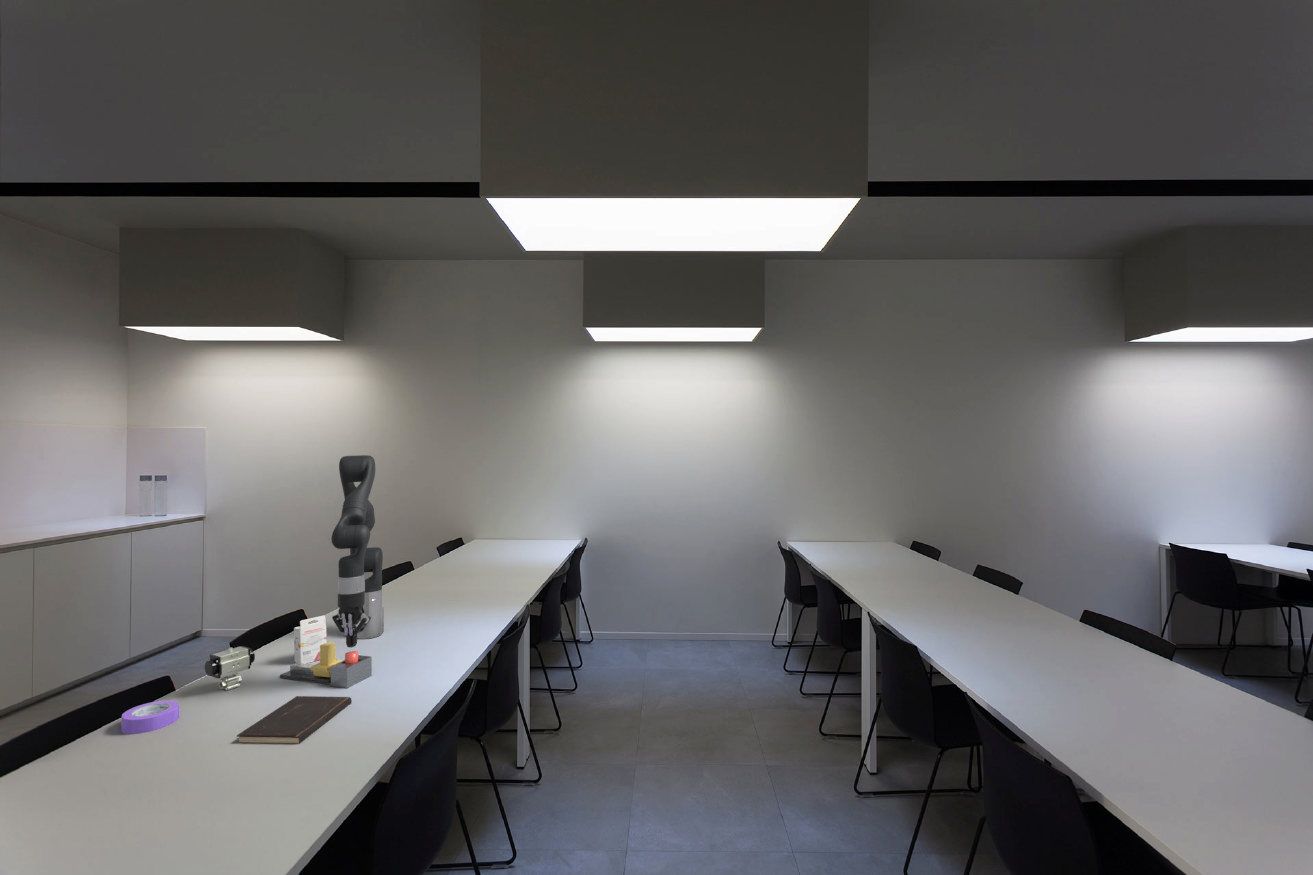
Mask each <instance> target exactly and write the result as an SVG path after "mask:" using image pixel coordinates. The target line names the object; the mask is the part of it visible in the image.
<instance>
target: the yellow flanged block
mask: <svg viewBox="0 0 1313 875" xmlns="http://www.w3.org/2000/svg"><path fill="white" fill-rule="evenodd" d="M336 658H337V656H336V642H329V641H328V642H327V643H325V644H322V645H320V660H319V662H318V663H316V664H312V665H313V666H311V671H314V676H322V677H331V666H332V665H335V664H337V663H339V662H341V661H343V660H344V659H336Z"/></svg>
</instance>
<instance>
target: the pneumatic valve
mask: <svg viewBox="0 0 1313 875" xmlns="http://www.w3.org/2000/svg"><path fill="white" fill-rule="evenodd" d="M255 660H256V655H255V651H254V650H253V648H250V647H247V646H242V645H241V646H237V647H234V648H233V647H228V648H227V649H226V650H223V651H220V652H216V653H212V654H209V658H208V660H206V661H205V663H204V671H205V673H206V675H207V676H209V677H212V678H215V679H220V681H219V683H218V687H219V689H221V690H225V691H230V690H234V689H237V688H239V687H240V686H241V683H242V682H243V680H242V679H243V678H242V676H241V675H240V674H239V673H241V672H244V671H248V670H250V669H251V666H252V663H254V662H255Z"/></svg>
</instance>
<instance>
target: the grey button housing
mask: <svg viewBox="0 0 1313 875" xmlns="http://www.w3.org/2000/svg"><path fill="white" fill-rule="evenodd" d="M342 660H343V661H341V662H339V663H337V664H335V665H332V666H331V684H330V687H334V688H335V687H336V688H342V689H343V688H344V689H349V688H351V687H353V686H354V685H357V684H358V683H360V682H362V681H365V680H366V679H369V678H370V677H372V673H373V672H372V671H373V670H372V668H373V667H372V664H373V662H372V660H373V659H372V656H368V655H362V654H361V655H359V654H358V662H356V663H354V664H345V659H342Z"/></svg>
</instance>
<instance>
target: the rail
mask: <svg viewBox="0 0 1313 875" xmlns="http://www.w3.org/2000/svg"><path fill="white" fill-rule="evenodd" d="M313 665H314V664H311V663H307V664H302V663H295V662H294V663H293V664H291V665H290V666H289V669H290V670H288V671H286V672H284V673H281V674H279V678H280V679H284V680H293V681H302V682H309V683H316V684H323V685H331V677H322V676H314V671H311V666H313Z"/></svg>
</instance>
